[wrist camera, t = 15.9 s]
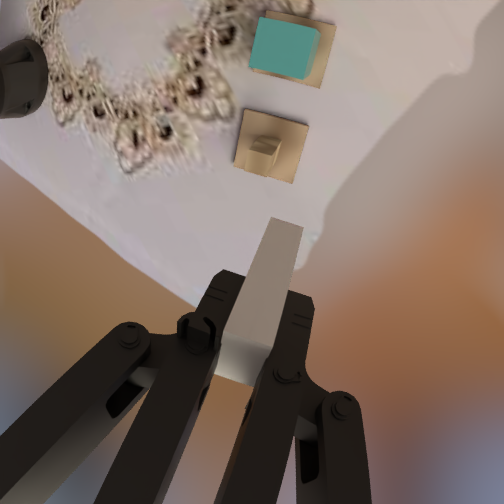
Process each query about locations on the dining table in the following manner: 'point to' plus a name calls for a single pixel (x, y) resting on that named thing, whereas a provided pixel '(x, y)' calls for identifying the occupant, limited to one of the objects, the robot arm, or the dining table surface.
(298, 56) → the teal rectangular block
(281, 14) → the post
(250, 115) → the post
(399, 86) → the dining table surface
